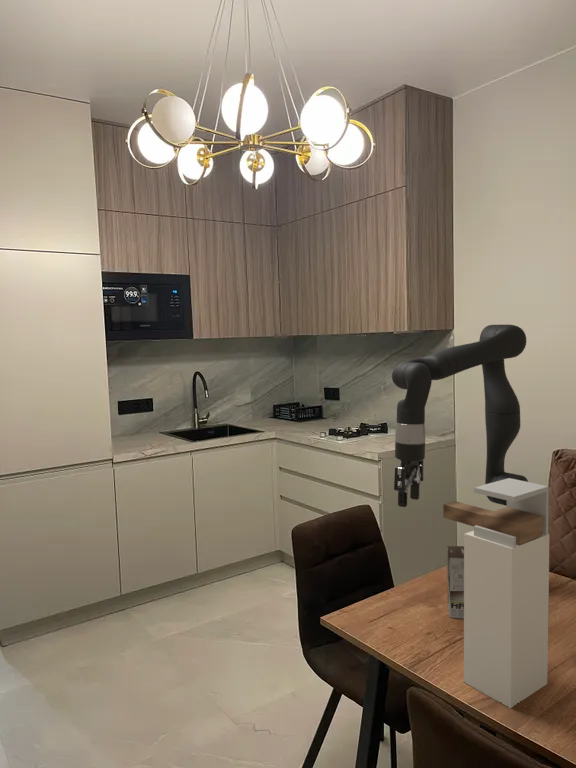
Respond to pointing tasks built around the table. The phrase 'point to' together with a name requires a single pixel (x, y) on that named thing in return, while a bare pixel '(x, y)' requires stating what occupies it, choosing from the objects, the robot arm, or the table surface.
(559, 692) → the table surface
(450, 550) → the coffee box
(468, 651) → the stand
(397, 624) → the table surface
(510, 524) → the wooden plank block
